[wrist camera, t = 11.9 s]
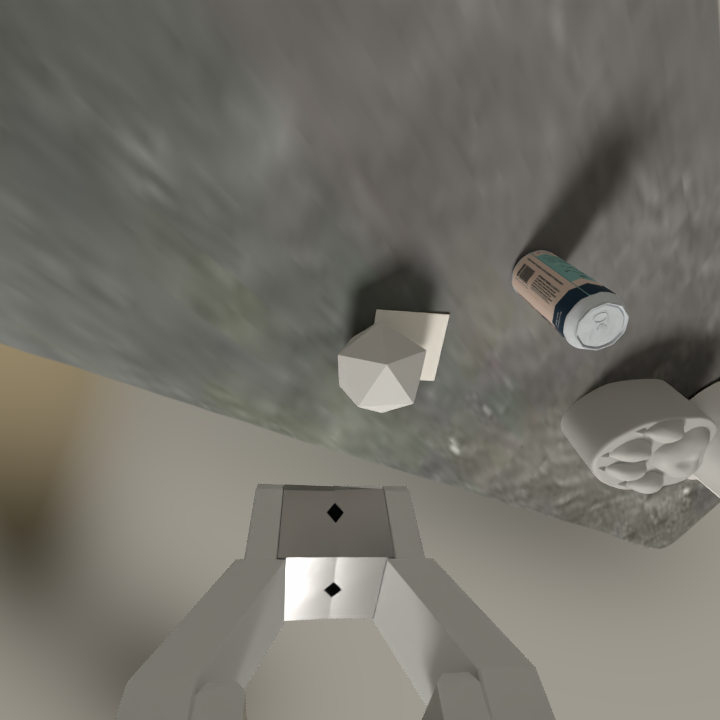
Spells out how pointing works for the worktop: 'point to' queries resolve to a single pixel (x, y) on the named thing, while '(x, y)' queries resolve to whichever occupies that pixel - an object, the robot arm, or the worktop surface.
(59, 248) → the worktop surface
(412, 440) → the worktop surface
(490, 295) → the worktop surface
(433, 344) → the pad
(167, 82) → the worktop surface
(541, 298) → the beer can
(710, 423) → the lumpy-topped squat cylinder
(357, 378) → the die
